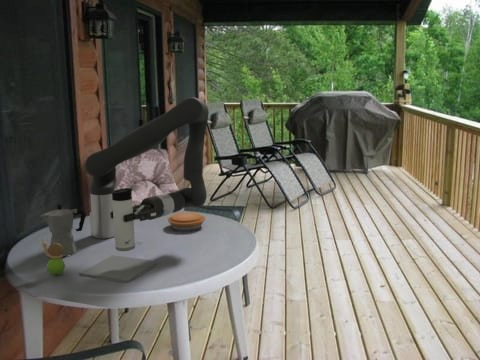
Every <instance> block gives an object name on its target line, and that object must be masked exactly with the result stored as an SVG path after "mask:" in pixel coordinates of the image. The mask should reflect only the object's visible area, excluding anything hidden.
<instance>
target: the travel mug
mask: <svg viewBox="0 0 480 360" xmlns="http://www.w3.org/2000/svg"><path fill="white" fill-rule="evenodd" d="M133 190H134V189H133V187H132V188H131V187H124V188H119V189H116V190H115V191H114V192H112V204H113V219H114V233H115V236H114V244H115V247H114V248H115V250H116V251H118V252H129V251H132V250H134V249H135V248H136V243H135V242H136V240H135V239H136V238H135V237H136V236H135V223H134V222H135V219H134V220H133V221H129V222H124V221H123V216H124V215H127V214H131V213H133V205H134V203H133V194H132V191H133Z"/></svg>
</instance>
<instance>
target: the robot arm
mask: <svg viewBox="0 0 480 360" xmlns="http://www.w3.org/2000/svg"><path fill="white" fill-rule="evenodd" d="M208 107H209V106H208V105H207V104H206V103H205V102H204V101H203V100H201V99H199V98H197V97H193V96H192V97H187V98H185V99H183V100H181V101H180V102H179V103H177V105H175V106H174V107H172V108H171V109H169V110H168V111H166V112H165V113H163V114H161V115H159V116H158V117H156V118H154V119H152V120H149V121H148V122H146V123H144V124H142V125H141V126H139V127H137V128H136V129H134V130H132V131H131V132H129V133H128V134H126V135H125V136H123V137H122V138H120V139H119V140H118V141H117V142H115V143H114V144H111V145H110V146H109V147H106V148H103V149H101V150H98V151H96V152H94V153H91V154H90V155H88V157H87V158H86V160H85V163H84V169H85V172H86V173H87V174H88V175H90V176H92V182H91V184H90V185H89V186H90V187H89V193H90V194H89V195H90V205H91V207H90V208H91V211H90V212H89V223H90V237H94V238H95V239H111V238H115V233H114V219H113V204H112V192H114V191H115V188H116V184H117V183H116V182H117V170H116V167H117V166H119V165H120V164H122V163H124V162H126V161H128V160H131V159H134V158H137V157H138V156H140V155H143V154H145V153H146V152H149V151H151V150H152V149H154V148H156V147H158V146H160V145H161V143H163V142H164V141H165V140H166V139H167V138H168V137H169V135H170V134H171V133H174V132H175V131H176V130H178V129H179V128H182V127H184V126H186V125H187V126H188V140H187V145H186V148H185V151H184V156H183V178H184V180H185V181H188V182H189V183H190V187H184V188H180V189H177V190H176V191H172V192H168V193H163V194H158V195H152V196H149V197H146V198H143V199H142V201H141V202H140V204H133V213H131V214H127V215H124V216H123V221H124V222H129V221H133V220H134V221H135V222H136V221H140V222H144V221H147V220H148V221H152V220H156V219H159V218H162V217H165V216H168V215H171V214H174V213H177V212H180V211H181V210H183V209H184V208H187V207H188V208H201V207H203V206H204V205H205V203H206V201H207V197H208V196H207V189H206V185H205V180H204V175H203V174H204V169H203V168H204V146H205V140H206V139H205V137H206V130H207V126H208V119H209V116H210V115H209V114H210V110H209V108H208Z"/></svg>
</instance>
